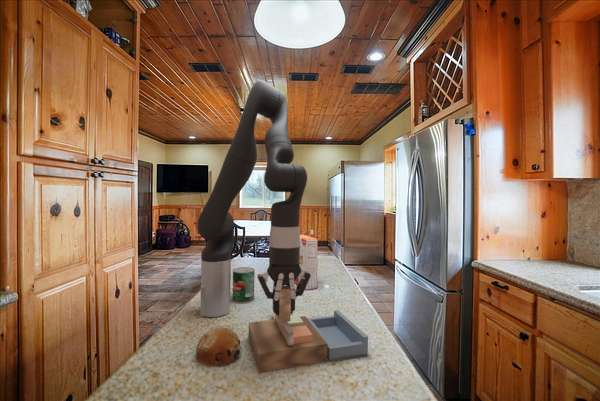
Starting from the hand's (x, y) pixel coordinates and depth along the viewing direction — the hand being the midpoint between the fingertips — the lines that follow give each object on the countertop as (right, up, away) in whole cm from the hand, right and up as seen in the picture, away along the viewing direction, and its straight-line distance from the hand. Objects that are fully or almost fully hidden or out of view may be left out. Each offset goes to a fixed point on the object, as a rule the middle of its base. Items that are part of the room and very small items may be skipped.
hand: (283, 313), depth 72 cm
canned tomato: (-17, -8, +34) cm, 39 cm away
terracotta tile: (+4, -5, -2) cm, 7 cm away
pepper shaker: (-2, -9, +18) cm, 21 cm away
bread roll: (-15, -9, -3) cm, 18 cm away
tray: (+13, -9, +4) cm, 17 cm away
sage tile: (+2, -5, +4) cm, 7 cm away
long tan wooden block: (0, -5, 0) cm, 5 cm away
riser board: (0, -9, 0) cm, 9 cm away
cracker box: (+6, -9, +53) cm, 54 cm away
